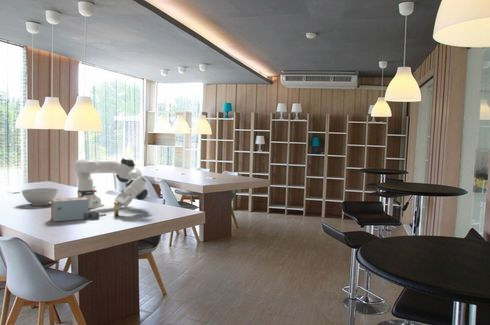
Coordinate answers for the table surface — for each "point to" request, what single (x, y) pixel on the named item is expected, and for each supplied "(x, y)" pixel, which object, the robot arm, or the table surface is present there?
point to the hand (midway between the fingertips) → (115, 208)
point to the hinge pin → (116, 211)
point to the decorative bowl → (39, 195)
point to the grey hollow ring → (91, 215)
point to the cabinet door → (70, 209)
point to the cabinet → (61, 200)
